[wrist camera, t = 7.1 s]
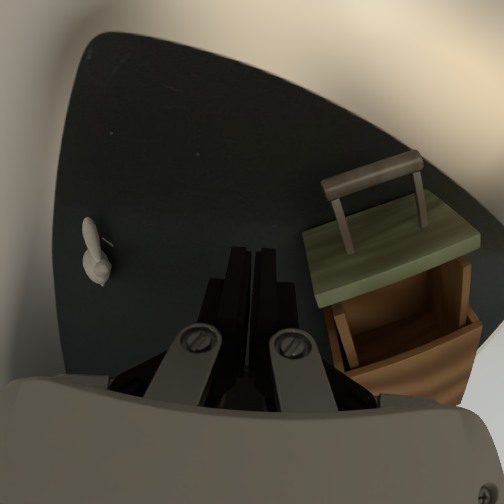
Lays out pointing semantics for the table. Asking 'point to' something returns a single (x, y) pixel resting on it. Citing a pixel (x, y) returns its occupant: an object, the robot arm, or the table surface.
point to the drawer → (391, 264)
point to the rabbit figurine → (95, 254)
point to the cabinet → (417, 364)
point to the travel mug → (244, 396)
